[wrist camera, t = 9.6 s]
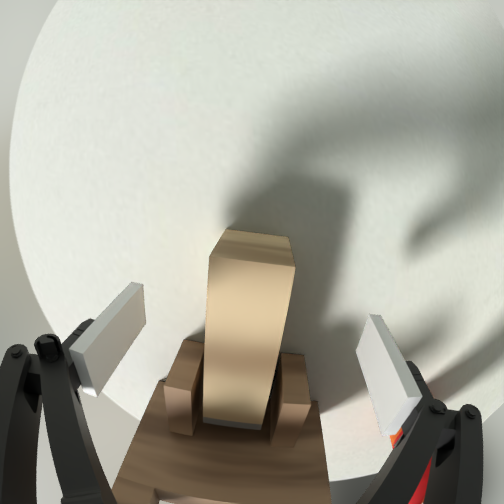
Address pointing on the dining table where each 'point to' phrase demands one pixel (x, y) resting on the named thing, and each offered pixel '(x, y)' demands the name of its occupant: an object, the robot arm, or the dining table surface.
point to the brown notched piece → (225, 444)
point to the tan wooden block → (244, 325)
